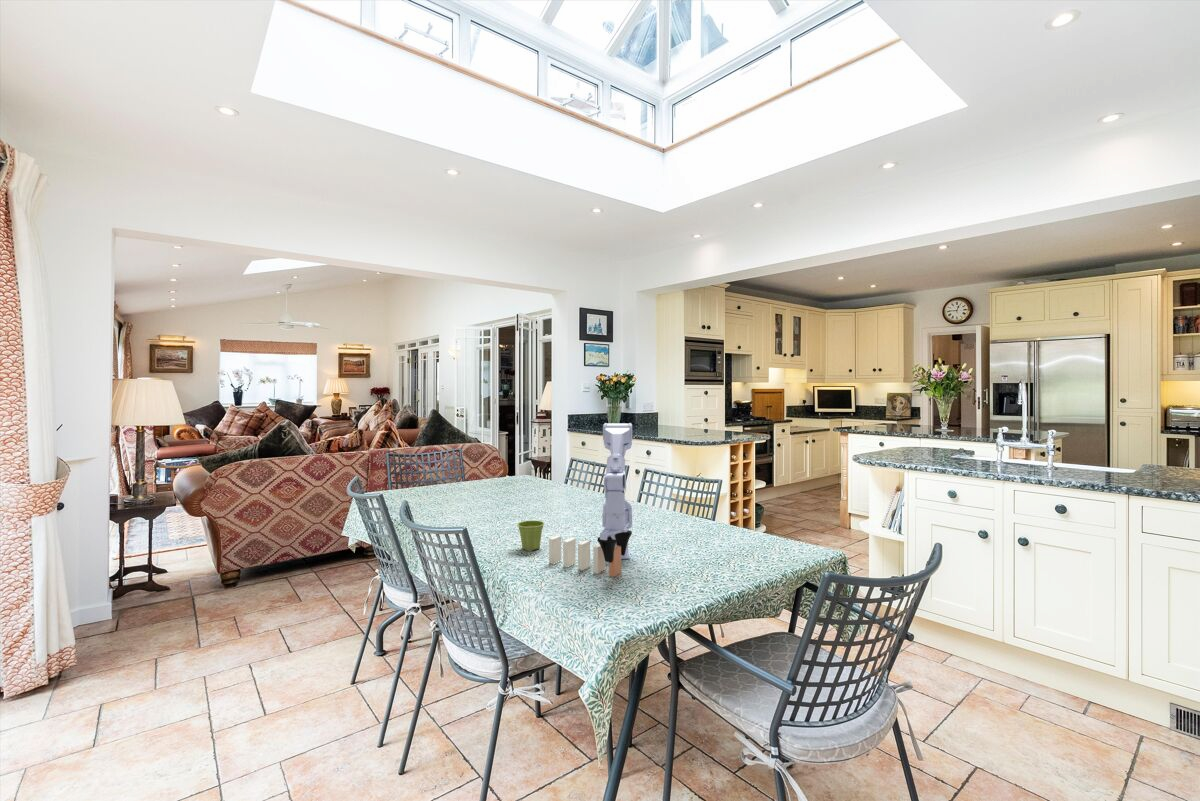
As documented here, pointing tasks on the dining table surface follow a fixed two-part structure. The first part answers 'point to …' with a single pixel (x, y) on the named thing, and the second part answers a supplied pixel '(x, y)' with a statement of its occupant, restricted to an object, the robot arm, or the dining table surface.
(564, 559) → the ivory domino
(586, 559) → the ivory domino
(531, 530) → the plant pot
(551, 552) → the ivory domino
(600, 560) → the ivory domino
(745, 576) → the dining table surface
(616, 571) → the rust domino
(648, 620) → the dining table surface
